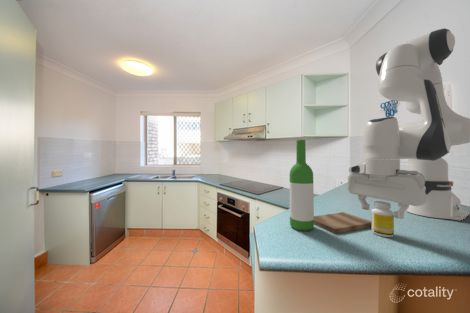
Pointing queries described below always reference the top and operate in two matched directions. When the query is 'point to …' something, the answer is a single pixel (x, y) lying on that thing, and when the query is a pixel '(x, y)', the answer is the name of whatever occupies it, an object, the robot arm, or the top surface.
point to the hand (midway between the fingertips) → (380, 213)
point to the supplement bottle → (382, 219)
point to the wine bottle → (301, 191)
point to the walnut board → (341, 222)
